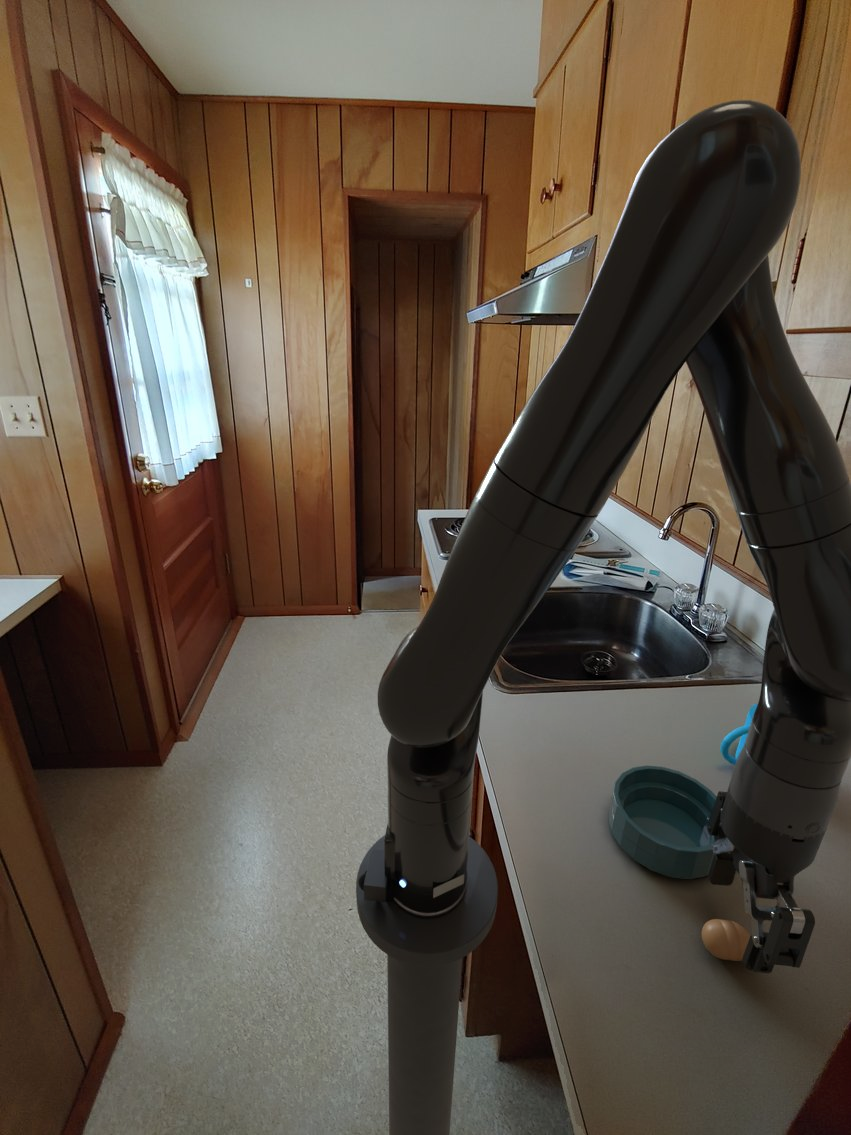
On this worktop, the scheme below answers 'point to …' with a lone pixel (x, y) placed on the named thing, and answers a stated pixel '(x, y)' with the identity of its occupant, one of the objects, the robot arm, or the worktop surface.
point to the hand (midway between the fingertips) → (735, 921)
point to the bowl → (663, 821)
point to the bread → (725, 939)
